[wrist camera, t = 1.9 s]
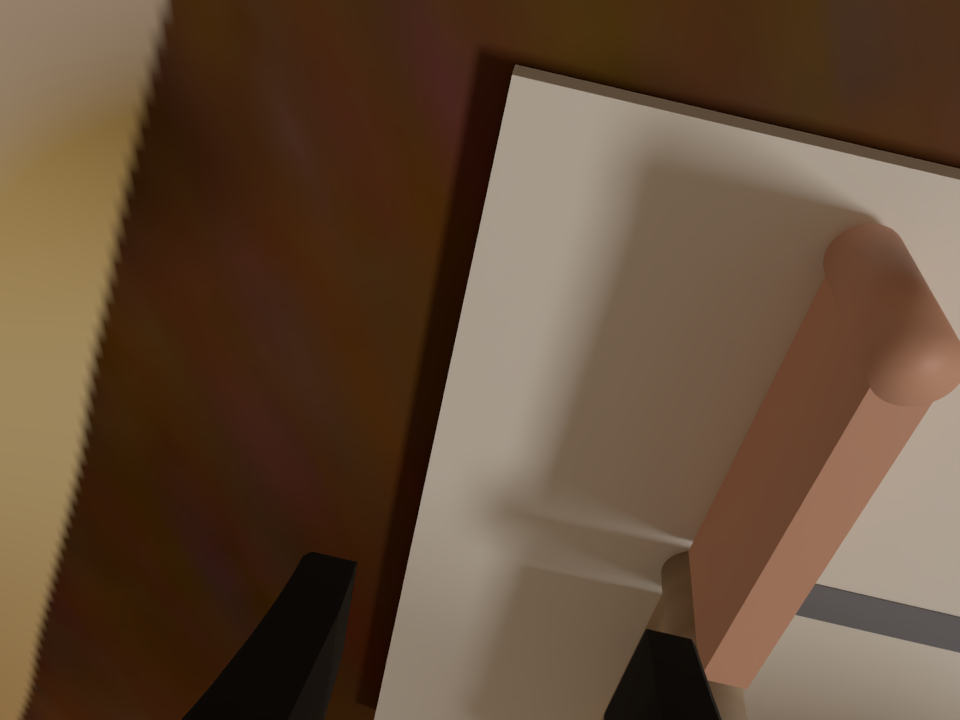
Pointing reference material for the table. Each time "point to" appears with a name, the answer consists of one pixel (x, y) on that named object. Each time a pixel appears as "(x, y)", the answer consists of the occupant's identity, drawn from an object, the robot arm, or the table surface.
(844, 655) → the card
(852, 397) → the hinged fence panel
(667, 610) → the fixed fence
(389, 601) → the table surface
